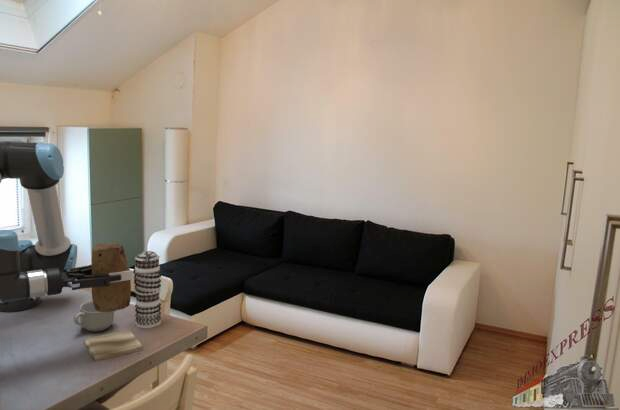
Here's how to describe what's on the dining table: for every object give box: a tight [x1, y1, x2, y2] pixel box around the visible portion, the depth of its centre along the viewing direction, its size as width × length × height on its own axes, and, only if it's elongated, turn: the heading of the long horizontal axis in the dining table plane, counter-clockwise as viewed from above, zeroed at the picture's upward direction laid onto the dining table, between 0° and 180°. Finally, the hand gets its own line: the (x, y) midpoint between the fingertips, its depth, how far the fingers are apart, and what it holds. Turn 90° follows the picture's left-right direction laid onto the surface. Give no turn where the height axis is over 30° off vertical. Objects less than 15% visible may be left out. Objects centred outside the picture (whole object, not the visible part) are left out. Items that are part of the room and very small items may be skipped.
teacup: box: [73, 300, 115, 332], centre depth 172 cm, size 14×11×8 cm
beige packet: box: [83, 329, 144, 362], centre depth 161 cm, size 14×14×1 cm
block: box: [91, 242, 132, 312], centre depth 157 cm, size 11×8×20 cm
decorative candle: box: [132, 250, 163, 329], centre depth 177 cm, size 9×9×25 cm
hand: (127, 271), depth 160 cm, fingers closed on block, 8 cm apart
